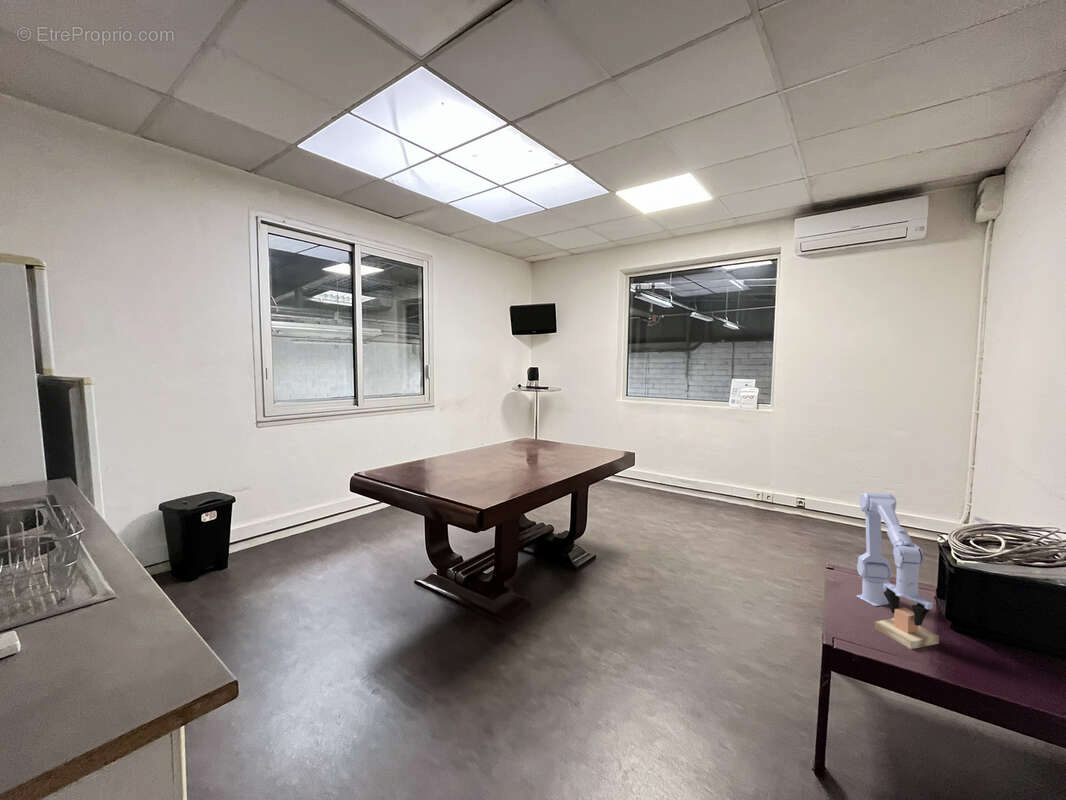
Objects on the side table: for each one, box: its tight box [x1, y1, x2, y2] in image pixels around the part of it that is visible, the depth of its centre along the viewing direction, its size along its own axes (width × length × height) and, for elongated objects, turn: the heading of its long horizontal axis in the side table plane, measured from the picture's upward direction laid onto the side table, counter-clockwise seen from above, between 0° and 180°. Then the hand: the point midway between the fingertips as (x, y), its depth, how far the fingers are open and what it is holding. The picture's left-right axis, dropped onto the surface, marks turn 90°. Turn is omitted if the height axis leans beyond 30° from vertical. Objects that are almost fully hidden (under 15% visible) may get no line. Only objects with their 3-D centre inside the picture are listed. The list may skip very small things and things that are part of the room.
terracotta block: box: [893, 607, 918, 633], centre depth 149 cm, size 4×4×6 cm
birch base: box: [874, 617, 940, 650], centre depth 149 cm, size 12×12×3 cm
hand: (906, 618), depth 149 cm, fingers open, 7 cm apart
